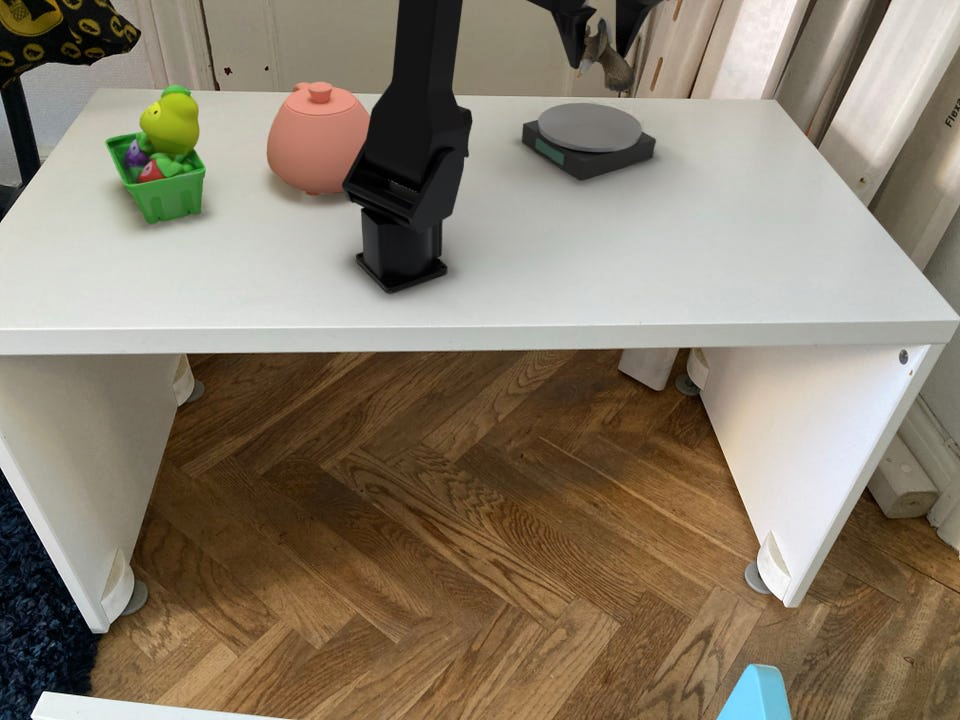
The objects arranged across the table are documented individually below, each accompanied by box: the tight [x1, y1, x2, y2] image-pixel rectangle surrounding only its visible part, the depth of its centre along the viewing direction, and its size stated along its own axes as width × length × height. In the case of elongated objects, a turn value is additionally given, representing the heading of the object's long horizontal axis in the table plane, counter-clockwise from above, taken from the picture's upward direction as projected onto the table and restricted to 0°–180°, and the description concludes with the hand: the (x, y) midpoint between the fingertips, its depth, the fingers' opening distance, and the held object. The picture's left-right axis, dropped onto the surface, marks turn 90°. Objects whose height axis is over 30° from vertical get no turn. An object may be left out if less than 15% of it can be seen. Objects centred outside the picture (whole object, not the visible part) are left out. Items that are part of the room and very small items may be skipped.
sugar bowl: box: [266, 81, 371, 197], centre depth 87 cm, size 12×14×10 cm
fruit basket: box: [104, 84, 207, 225], centre depth 81 cm, size 11×9×11 cm
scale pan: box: [537, 102, 643, 152], centre depth 95 cm, size 12×12×1 cm
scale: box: [521, 119, 657, 181], centre depth 96 cm, size 11×11×2 cm
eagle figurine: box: [576, 16, 635, 93], centre depth 88 cm, size 8×7×9 cm
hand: (597, 62), depth 89 cm, fingers closed on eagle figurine, 6 cm apart
